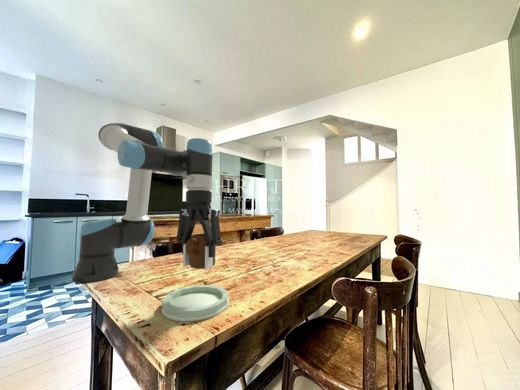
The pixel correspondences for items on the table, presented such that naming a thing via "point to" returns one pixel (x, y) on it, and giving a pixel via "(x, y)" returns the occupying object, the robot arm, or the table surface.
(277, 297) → the table surface
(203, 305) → the shallow round dish
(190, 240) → the mug
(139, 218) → the robot arm
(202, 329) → the table surface
